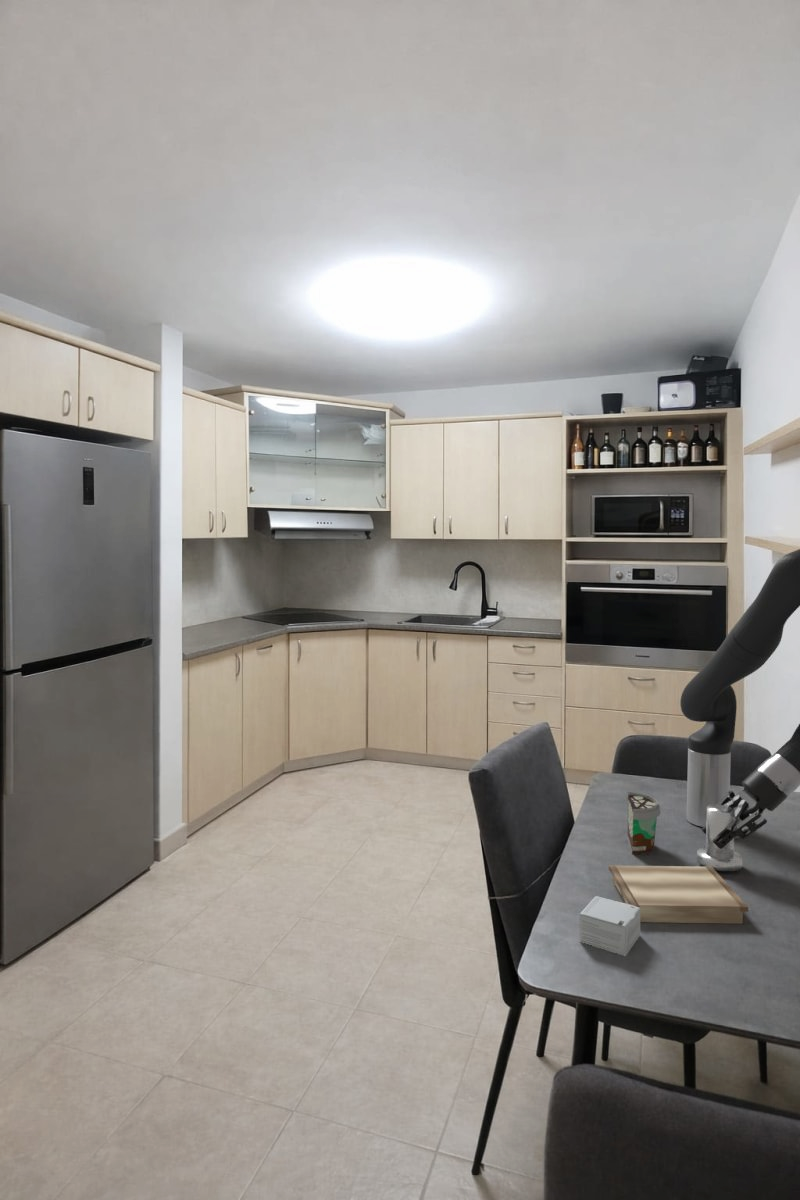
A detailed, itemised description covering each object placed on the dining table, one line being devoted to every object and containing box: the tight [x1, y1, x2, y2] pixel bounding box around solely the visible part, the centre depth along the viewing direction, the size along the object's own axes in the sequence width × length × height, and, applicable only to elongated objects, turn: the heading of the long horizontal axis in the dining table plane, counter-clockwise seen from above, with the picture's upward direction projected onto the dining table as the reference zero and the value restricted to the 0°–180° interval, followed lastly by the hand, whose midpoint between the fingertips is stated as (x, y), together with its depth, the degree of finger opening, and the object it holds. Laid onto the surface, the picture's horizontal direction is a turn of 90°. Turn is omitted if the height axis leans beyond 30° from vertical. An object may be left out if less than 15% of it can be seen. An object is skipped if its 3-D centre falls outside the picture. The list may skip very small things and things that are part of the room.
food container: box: [626, 791, 661, 855], centre depth 159 cm, size 12×6×10 cm, turn 168°
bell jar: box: [696, 804, 743, 872], centre depth 149 cm, size 8×8×11 cm
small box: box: [579, 895, 641, 957], centre depth 122 cm, size 8×8×5 cm
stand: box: [608, 864, 749, 925], centre depth 135 cm, size 16×20×3 cm
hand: (710, 839), depth 149 cm, fingers closed on bell jar, 5 cm apart
